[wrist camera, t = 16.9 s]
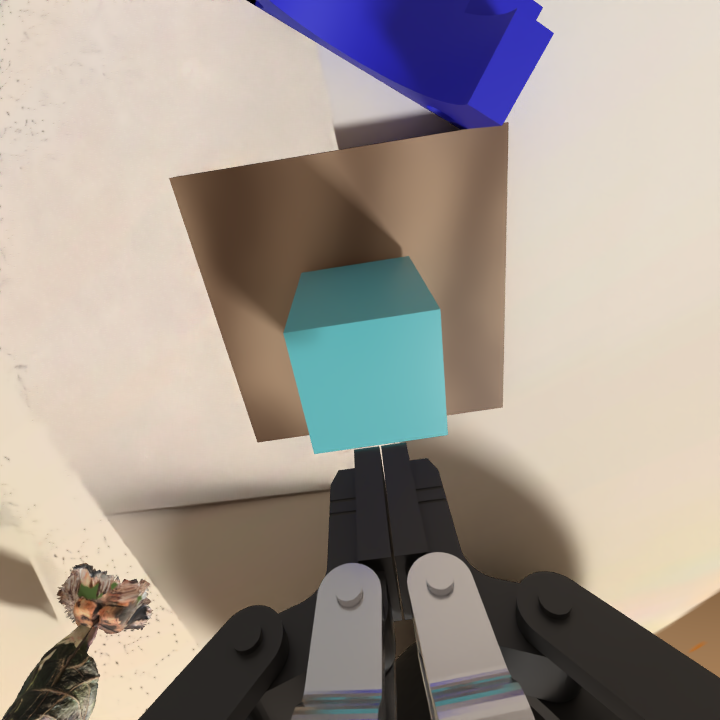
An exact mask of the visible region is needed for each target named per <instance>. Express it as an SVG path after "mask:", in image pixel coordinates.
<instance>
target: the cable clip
mask: <svg viewBox="0 0 720 720" xmlns="http://www.w3.org/2000/svg"><path fill="white" fill-rule="evenodd" d="M247 1H248V2H250V3H252V4H253V5H255V6H257V7H258V8H260V9H262V10H263V11H265V12H267V13H268V14H270V15H272V16H273V17H275V18H277V19H278V20H280V21H282V22H283V23H285V24H287V25H288V26H290V27H292V28H293V29H295V30H297V31H298V32H300V33H302V34H303V35H305V36H307V37H308V38H310V39H312V40H313V41H315V42H317V43H318V44H320V45H322V46H323V47H325V48H327V49H328V50H330V51H331V52H333V53H335V54H336V55H338V56H340V57H341V58H343V59H345V60H346V61H348V62H350V63H351V64H353V65H355V66H356V67H358V68H360V69H361V70H363V71H365V72H366V73H368V74H370V75H371V76H373V77H375V78H376V79H378V80H380V81H381V82H383V83H385V84H386V85H388V86H390V87H391V88H393V89H395V90H396V91H398V92H400V93H401V94H403V95H405V96H406V97H408V98H410V99H411V100H413V101H415V102H416V103H418V104H420V105H421V106H423V107H425V108H426V109H428V110H429V111H431V112H433V113H434V114H436V115H438V116H439V117H441V118H443V119H444V120H446V121H448V122H449V123H451V124H453V125H454V126H456V127H458V128H459V129H472V128H483V127H494V126H502V125H503V123H504V121H505V119H506V118H507V116H508V114H509V112H510V111H511V109H512V107H513V105H514V103H515V102H516V100H517V98H518V96H519V95H520V93H521V91H522V89H523V87H524V86H525V84H526V82H527V80H528V79H529V77H530V75H531V73H532V71H533V70H534V68H535V66H536V64H537V63H538V61H539V59H540V57H541V55H542V54H543V52H544V50H545V48H546V46H547V45H548V43H549V41H550V39H551V38H552V36H553V34H554V33H553V32H551V31H550V30H549V29H547V28H546V27H544V26H543V25H542V24H540V23H539V22H537V21H536V19H537V18H538V16H539V14H540V12H541V10H542V8H543V7H542V6H540V5H539V4H538V3H536V2H535V1H534V0H247Z"/></svg>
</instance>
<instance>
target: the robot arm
mask: <svg viewBox="0 0 720 720" xmlns="http://www.w3.org/2000/svg"><path fill="white" fill-rule="evenodd" d="M381 448H382V457H383V465H384V472H383V466H382V460H381V454H380V448H379V446H378V447H371V448H363V449H356V450H354V460H355V468H353V469H345V470H338V472H337V474H336V476H335V478H334V480H333V482H332V483H331V489H330V517H329V538H328V562H327V572H326V575H325V578H324V579H323V581H322V582H321V584H320V587H319V588H318V589H317V591H316V592H315V593H314V594H313V595H312V596H311V597H309V598H308V599H307V600H305V601H303V602H302V603H300V604H298V605H296V606H293V607H291V608H289V609H287V610H285V611H283V612H281V613H279V614H277V613H276V612H275V611H274V610H273V609H271V608H270V607H267V606H262V605H255V606H250V607H247V608H245V609H243V610H241V611H239V612H237V613H236V614H235V615H233V616H232V617H231V618H230V619H229V620H228V621H227V622H226V623H225V624H224V625H223V627H222V628H221V629H220V630H219V631H218V632H217V633H216V634H215V635H214V636H213V638H212V639H211V640H210V641H209V642H208V643H207V644H206V645H205V646H204V648H203V649H202V650H201V651H200V652H199V653H198V654H197V655H196V656H195V657H194V659H193V660H192V661H191V662H190V663H189V664H188V665H187V666H186V667H185V668H184V670H183V671H182V672H181V673H180V674H179V675H178V676H177V677H176V678H175V680H174V681H173V682H172V683H171V684H170V685H169V686H168V687H167V688H166V689H165V691H164V692H163V693H162V694H161V695H160V696H159V697H158V698H157V699H156V701H155V702H154V703H153V704H152V705H151V706H150V707H149V708H148V709H147V710H146V712H145V713H144V714H143V715H142V716H141V717H140V718H139V719H138V720H397V693H396V660H395V653H396V643H395V633H394V623H393V621H401V620H402V615H401V606H400V598H399V590H398V581H399V587H400V593H401V599H402V605H403V611H404V617H405V620H407V619H413V625H414V632H415V638H416V644H417V651H418V658H419V662H420V667H421V672H422V677H423V681H424V686H425V691H426V695H427V700H428V705H429V710H430V714H431V719H432V720H535V718H534V715H533V713H532V710H531V708H530V705H531V706H532V707H533V708H534V709H535V710H536V711H537V712H538V713H539V714H540V715H541V716H542V717H543V718H544V719H545V720H720V678H719V677H718V676H716V675H715V674H713V673H711V672H710V671H709V670H707V669H706V668H704V667H703V666H701V665H699V664H698V663H696V662H695V661H693V660H692V659H690V658H689V657H687V656H686V655H684V654H683V653H681V652H680V651H678V650H677V649H675V648H674V647H672V646H671V645H669V644H668V643H666V642H665V641H663V640H662V639H660V638H658V637H657V636H656V635H654V634H653V633H651V632H650V631H648V630H647V629H645V628H643V627H642V626H640V625H639V624H637V623H636V622H634V621H633V620H631V619H630V618H628V617H627V616H625V615H624V614H622V613H621V612H619V611H618V610H616V609H615V608H613V607H612V606H610V605H609V604H607V603H606V602H604V601H603V600H601V599H600V598H598V597H597V596H595V595H594V594H592V593H591V592H589V591H587V590H586V589H584V588H583V587H581V586H580V585H578V584H577V583H575V582H574V581H572V580H571V579H569V578H567V577H565V576H563V575H560V574H557V573H554V572H536V573H533V574H530V575H528V576H527V577H525V578H524V579H523V580H522V581H521V583H515V582H510V581H505V580H500V579H495V578H492V577H489V576H486V575H484V574H482V573H480V572H479V571H477V570H476V569H475V568H473V567H472V566H471V565H470V564H469V563H468V561H467V560H466V559H465V557H464V556H463V554H462V551H461V549H460V545H459V542H458V538H457V534H456V531H455V527H454V524H453V520H452V517H451V513H450V510H449V506H448V503H447V500H446V496H445V492H444V489H443V485H442V482H441V478H440V474H439V471H438V469H437V468H436V467H435V466H434V465H433V464H432V463H431V462H430V461H429V460H428V459H427V458H425V459H418V460H411V461H410V460H409V455H408V450H407V445H406V443H399V444H391V445H384V446H381ZM384 474H385V479H384ZM385 482H386V485H385ZM395 563H396V565H395ZM396 569H397V573H396ZM397 575H398V581H397ZM529 704H530V705H529Z"/></svg>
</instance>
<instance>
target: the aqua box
mask: <svg viewBox="0 0 720 720" xmlns="http://www.w3.org/2000/svg"><path fill="white" fill-rule="evenodd" d="M283 334H284V338H285V342H286V346H287V350H288V354H289V357H290V361H291V365H292V369H293V373H294V377H295V381H296V385H297V388H298V392H299V396H300V400H301V404H302V408H303V412H304V416H305V419H306V423H307V427H308V431H309V435H310V439H311V443H312V447H313V450H314V454H318V453H325V452H332V451H339V450H346V449H353V448H360V447H367V446H374V445H381V444H388V443H395V442H402V441H409V440H416V439H423V438H430V437H437V436H444V435H448V430H447V413H446V396H445V379H444V362H443V345H442V328H441V311H440V308H439V306H438V304H437V303H436V301H435V299H434V298H433V296H432V294H431V292H430V291H429V289H428V287H427V286H426V284H425V282H424V281H423V279H422V277H421V276H420V274H419V272H418V270H417V269H416V267H415V265H414V264H413V262H412V260H411V259H410V257H409V256H405V257H399V258H392V259H386V260H380V261H373V262H367V263H361V264H354V265H348V266H342V267H335V268H329V269H322V270H316V271H310V272H303V273H301V276H300V279H299V282H298V286H297V289H296V292H295V296H294V299H293V302H292V306H291V309H290V312H289V316H288V319H287V322H286V326H285V329H284V332H283Z"/></svg>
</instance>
